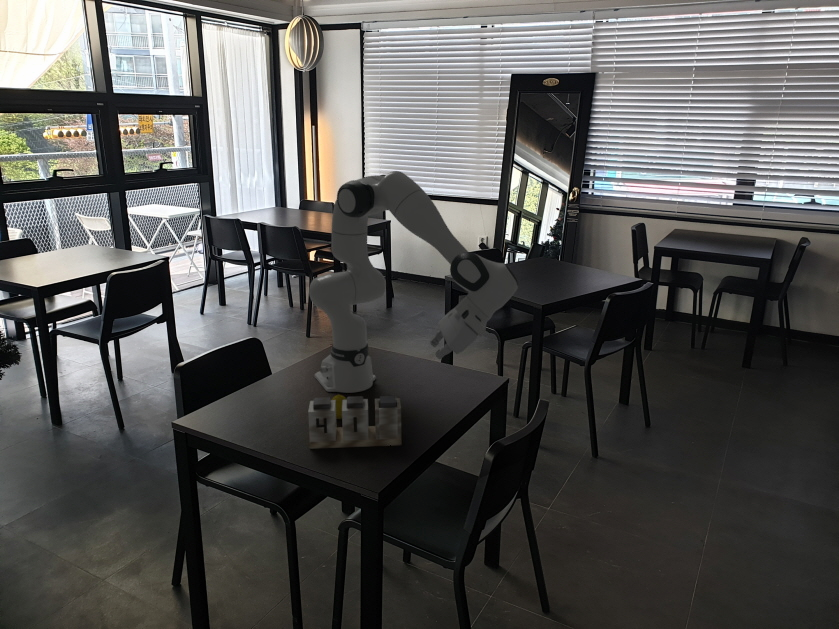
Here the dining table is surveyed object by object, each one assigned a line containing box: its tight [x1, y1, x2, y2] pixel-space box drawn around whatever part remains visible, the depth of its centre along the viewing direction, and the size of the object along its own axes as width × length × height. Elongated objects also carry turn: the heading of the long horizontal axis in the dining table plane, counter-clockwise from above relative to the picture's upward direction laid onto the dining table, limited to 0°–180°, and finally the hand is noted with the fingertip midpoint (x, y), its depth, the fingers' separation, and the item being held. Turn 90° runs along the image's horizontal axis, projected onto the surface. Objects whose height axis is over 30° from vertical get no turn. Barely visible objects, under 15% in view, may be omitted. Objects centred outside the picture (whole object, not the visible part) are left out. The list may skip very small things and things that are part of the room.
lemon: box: [331, 393, 347, 420], centre depth 191 cm, size 6×6×8 cm
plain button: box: [379, 395, 397, 408], centre depth 179 cm, size 4×4×6 cm
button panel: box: [307, 395, 403, 450], centre depth 179 cm, size 25×9×12 cm, turn 95°
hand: (434, 350), depth 175 cm, fingers open, 8 cm apart
